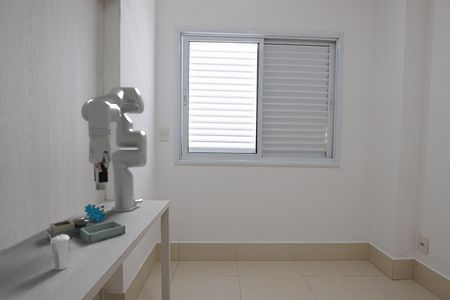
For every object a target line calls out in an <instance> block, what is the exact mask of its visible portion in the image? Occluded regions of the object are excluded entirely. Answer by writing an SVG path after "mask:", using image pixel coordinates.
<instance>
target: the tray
mask: <svg viewBox="0 0 450 300" xmlns="http://www.w3.org/2000/svg"><path fill="white" fill-rule="evenodd" d="M125 234H126V225H125V224H123V223H121V222H119V221H116V220H115V219H114V220H110V221H106V222H100V223H97V224H95V225H93V226H88V227H84V228H80V236H79V237H80V238H81V239H83V241H85V242H86V243H88V244H93V243H95V242H99V241H104V240H107V239H110V238H114V237H117V236H120V235H125Z"/></svg>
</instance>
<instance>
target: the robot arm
mask: <svg viewBox="0 0 450 300" xmlns="http://www.w3.org/2000/svg"><path fill="white" fill-rule="evenodd" d="M80 110H81V111H80V112H81V113H80V114H81V117H82V119H83V120H84V121H86V122H87V126H88V138H89V146H88V162H89V163H90V164H92V165H93V177H94V179H93V180H94V182H95V183H96V172H95V166H94V164H99V171H100V172H98V175H99V183H103V182H106V183H108V182H109V166H110V163H111V164H112V171H113V190H114V191H113V193H114V196H113V197H114V200H113V201H114V206H113V207H111V212H115V213H125V212H131V211H135V210H136V209H137V208H138V204H141V203H143V202H144V201H143V199H142V198H140V199H135V197H134V196H135V195H134V194H135V193H134V188H135V187H134V175H133V172H131V170H130V168H143V167H145V166H146V165H147V161H148V160H147V158H148V157H147V156H148V153H147V151H148V138H147V134H146V132H145V131H143V130H134V122H133V121H132V119H131V118H130V117H129V116H128V115H127V114H129V115H130V114H131V115H132V114H133V115H134V114H135V115H137V114H142V113H143V112H144V111H145V103H144V100H143V97H142V94H141V92H140V90H139V89H138V88H136V87H135V86H134V87H131V86H129V87H128V86H116V87H113V88H112V89H110V91H108V92H107V94H102V95H99V96H95V97H92V98H89V99H87V100H86V101H85V102H84V103H83V105H82V107H81V109H80ZM114 122H115V123H116V126H115V128H116V129H115V130H116V131H115V145H116V147H117V148H120V149H117V150H114V151H113V152H112V150H111V149H112V148H111V138H112V136H111V135H112V130H111V129H112V128H111V127H112V125H111V123H114Z"/></svg>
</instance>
